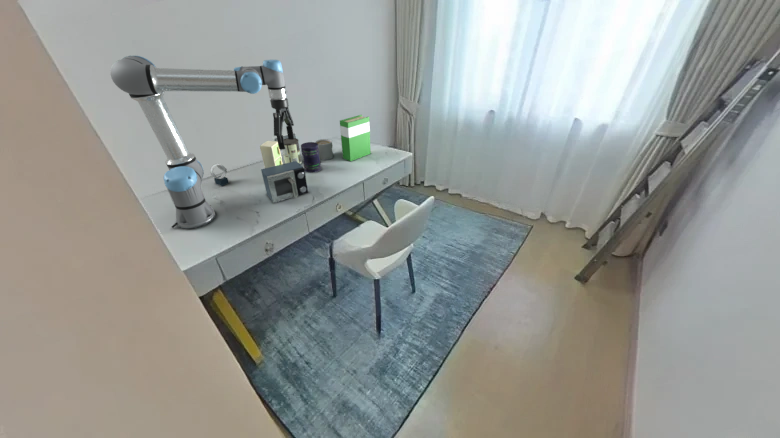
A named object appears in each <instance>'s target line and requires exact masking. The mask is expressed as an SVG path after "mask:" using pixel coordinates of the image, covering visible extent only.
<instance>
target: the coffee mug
mask: <svg viewBox="0 0 780 438" xmlns="http://www.w3.org/2000/svg"><path fill="white" fill-rule="evenodd" d="M315 143H317V144H318V148H319V159H320V161H327V160H331V159H333V157H334V155H333V142H332V140H331V139H329V138H327V139H326V138H321V139H318V140H316V141H315Z"/></svg>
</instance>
